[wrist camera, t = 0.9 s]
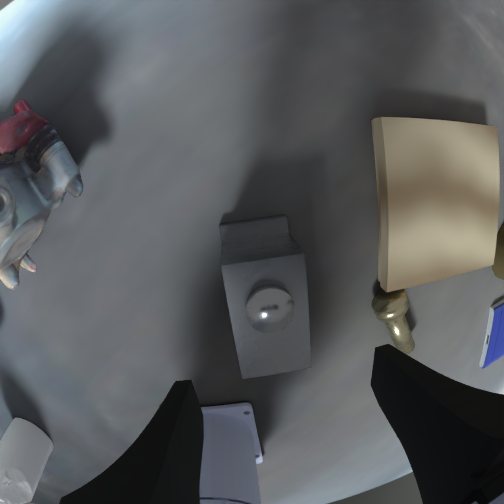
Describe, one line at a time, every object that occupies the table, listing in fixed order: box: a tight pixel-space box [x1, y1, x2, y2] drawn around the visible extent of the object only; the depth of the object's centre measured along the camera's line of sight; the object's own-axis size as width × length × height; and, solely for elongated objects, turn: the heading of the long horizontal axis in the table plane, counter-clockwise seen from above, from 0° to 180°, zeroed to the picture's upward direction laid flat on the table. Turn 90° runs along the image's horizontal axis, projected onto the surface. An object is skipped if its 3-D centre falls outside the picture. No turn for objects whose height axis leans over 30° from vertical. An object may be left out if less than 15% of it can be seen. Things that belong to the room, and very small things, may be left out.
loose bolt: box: [371, 289, 415, 354], centre depth 20 cm, size 6×3×3 cm, turn 32°
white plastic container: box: [0, 418, 53, 504], centre depth 18 cm, size 6×12×6 cm
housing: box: [219, 215, 311, 379], centre depth 17 cm, size 9×4×5 cm, turn 7°
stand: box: [371, 117, 499, 292], centre depth 18 cm, size 11×11×2 cm
